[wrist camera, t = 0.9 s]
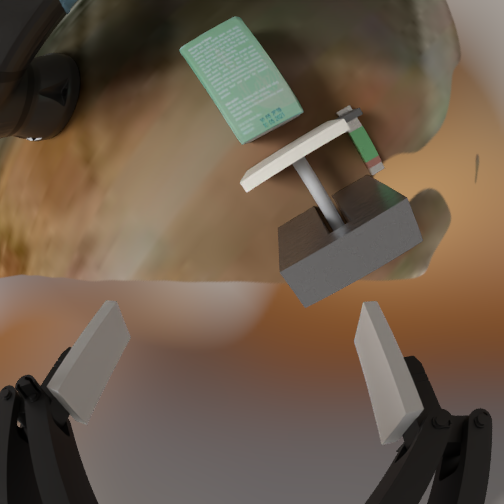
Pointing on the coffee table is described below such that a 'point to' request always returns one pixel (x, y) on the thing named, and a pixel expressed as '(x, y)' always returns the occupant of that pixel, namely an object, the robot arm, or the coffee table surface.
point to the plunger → (304, 163)
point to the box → (241, 80)
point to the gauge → (347, 232)
